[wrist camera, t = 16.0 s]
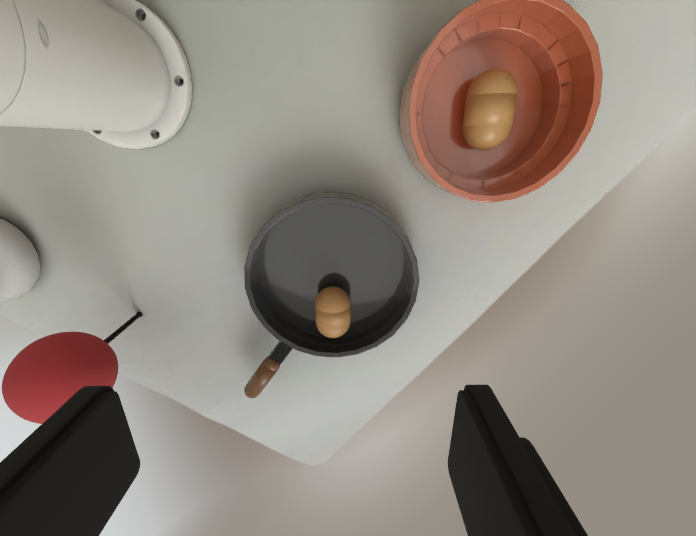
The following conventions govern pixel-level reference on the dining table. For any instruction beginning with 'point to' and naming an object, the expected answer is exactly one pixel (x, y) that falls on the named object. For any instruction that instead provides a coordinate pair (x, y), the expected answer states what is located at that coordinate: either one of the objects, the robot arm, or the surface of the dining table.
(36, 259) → the donut
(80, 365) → the lollipop
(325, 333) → the potato
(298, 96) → the dining table surface
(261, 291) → the skillet
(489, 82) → the potato
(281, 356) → the skillet handle
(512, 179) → the bowl
